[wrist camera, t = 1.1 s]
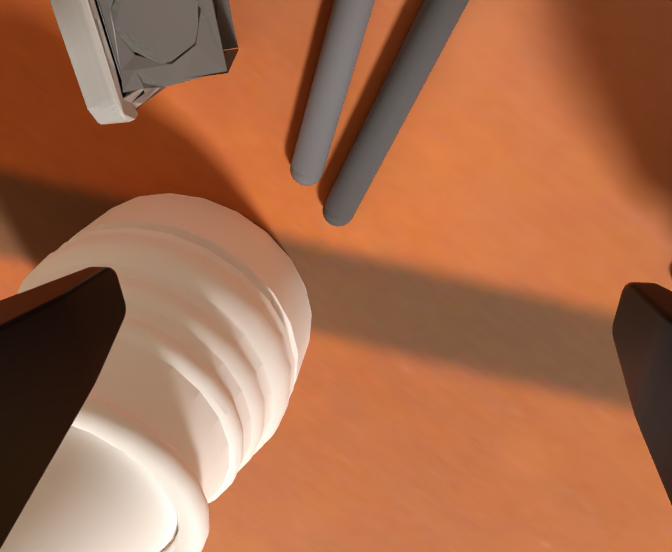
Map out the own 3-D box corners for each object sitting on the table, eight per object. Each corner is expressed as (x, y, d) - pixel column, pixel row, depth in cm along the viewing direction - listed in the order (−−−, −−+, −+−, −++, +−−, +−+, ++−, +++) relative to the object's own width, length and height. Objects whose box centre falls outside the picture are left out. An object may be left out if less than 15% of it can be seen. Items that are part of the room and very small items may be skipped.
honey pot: (288, 422, 31) (148, 865, 16) (82, 363, 31) (-257, 742, 16) (336, 234, 24) (173, 687, 9) (73, 161, 24) (-529, 479, 9)
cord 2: (581, -214, 16) (593, -229, 14) (348, 223, 24) (343, 236, 23) (541, -238, 16) (550, -256, 14) (320, 210, 24) (314, 222, 23)
